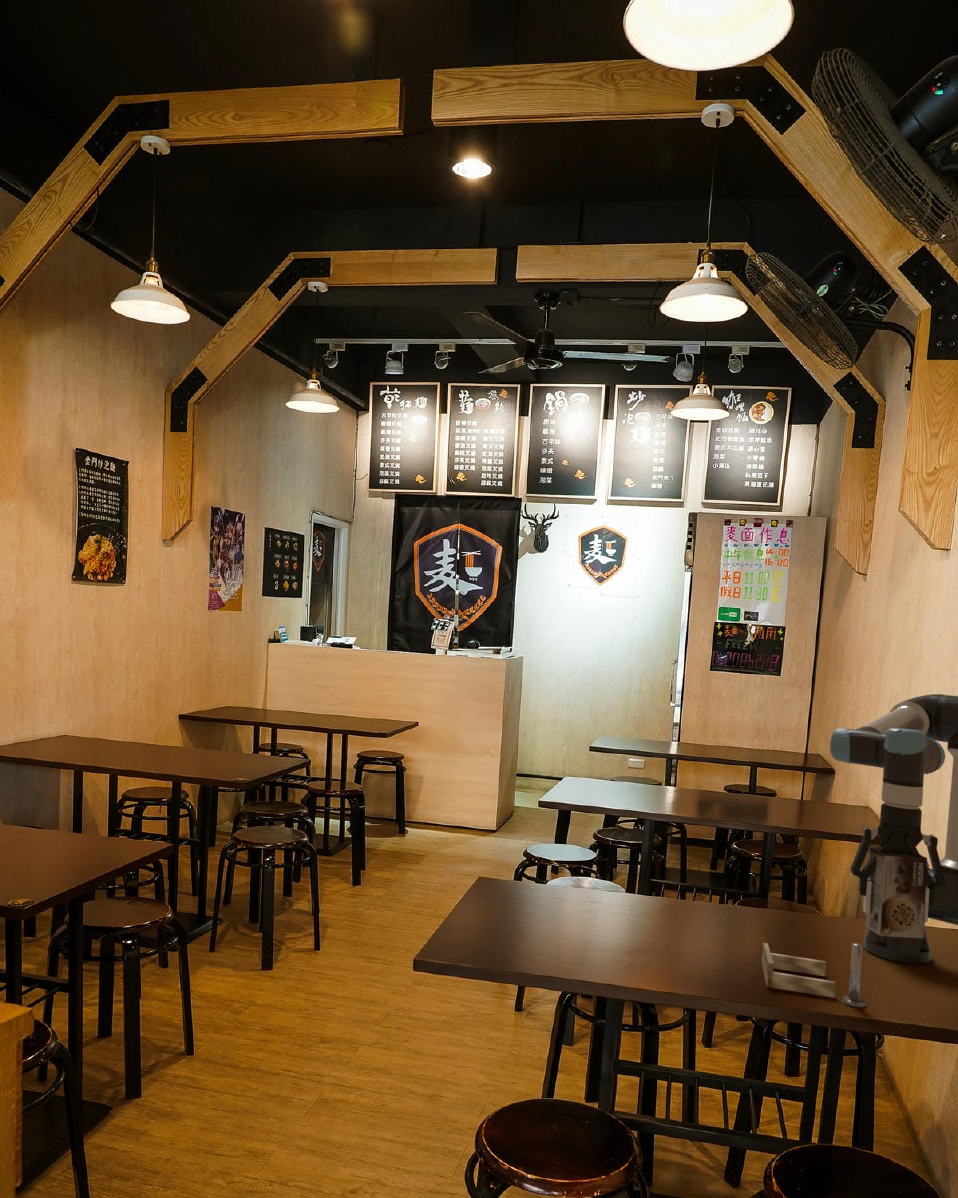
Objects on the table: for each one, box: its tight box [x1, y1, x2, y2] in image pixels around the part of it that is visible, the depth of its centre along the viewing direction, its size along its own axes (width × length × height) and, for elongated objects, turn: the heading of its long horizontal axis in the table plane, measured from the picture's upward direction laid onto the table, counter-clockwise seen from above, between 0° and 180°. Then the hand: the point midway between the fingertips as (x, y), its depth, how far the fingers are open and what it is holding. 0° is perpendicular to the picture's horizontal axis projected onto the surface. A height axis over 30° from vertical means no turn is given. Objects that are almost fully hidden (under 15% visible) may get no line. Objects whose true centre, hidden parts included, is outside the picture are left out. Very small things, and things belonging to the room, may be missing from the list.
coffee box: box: [865, 847, 928, 938], centre depth 180 cm, size 9×6×16 cm
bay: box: [761, 942, 836, 999], centre depth 195 cm, size 14×14×5 cm
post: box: [841, 942, 866, 1009], centre depth 185 cm, size 4×4×12 cm
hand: (894, 916), depth 180 cm, fingers closed on coffee box, 10 cm apart
